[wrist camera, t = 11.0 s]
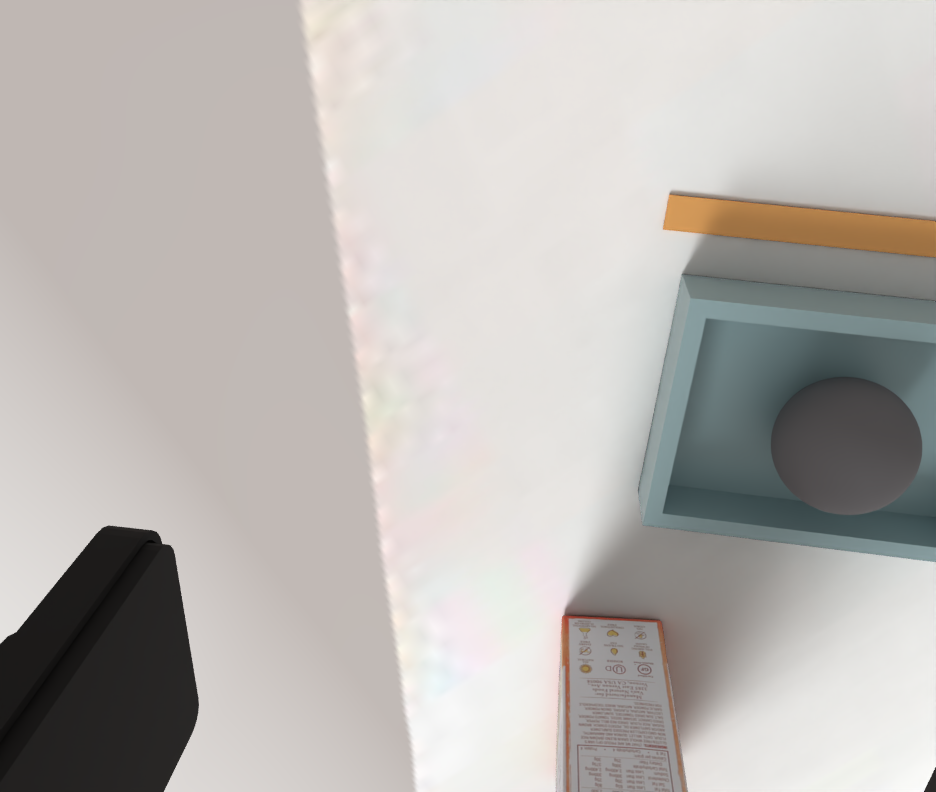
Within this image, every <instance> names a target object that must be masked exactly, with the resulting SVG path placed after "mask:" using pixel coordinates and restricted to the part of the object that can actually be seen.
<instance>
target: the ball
mask: <svg viewBox="0 0 936 792" xmlns="http://www.w3.org/2000/svg"><path fill="white" fill-rule="evenodd" d="M771 454H772V459H773V462H774V466H775V468H776V470H777V472H778V475H779V477H780V478H781V480H782V481H783V483H784V484H785V485H786V487H787V488H788V489H789V490H790V491H791V492H792V493H793V494H794V495H795V496H797V497H798V498H799V499H800V500H802V501H803V502H805V503H806V504H808V505H810V506H812V507H814V508H816V509H819V510H821V511H824V512H828V513H833V514H839V515H858V514H865V513H869V512H872V511H875V510H878V509H880V508H883V507H885V506H887V505H888V504H890V503H892V502H893V501H895V500H896V499H897V498H899V497H900V496H901V495H902V494H903V493H904V492H905V491H906V489H907V488H908V487H909V486H910V485H911V483H912V482H913V480H914V478H915V476H916V474H917V472H918V469H919V466H920V463H921V458H922V437H921V433H920V428H919V426H918V423H917V421H916V419H915V417H914V415H913V413H912V412H911V410H910V409H909V408H908V406H907V405H906V404H905V403H904V402H903V401H902V399H900V398H899V397H898V396H897V395H896V394H895V393H893V392H892V391H890V390H889V389H887V388H885V387H884V386H882V385H880V384H877V383H875V382H872V381H869V380H866V379H861V378H856V377H834V378H828V379H824V380H820V381H817V382H815V383H812V384H810V385H808V386H806V387H804V388H803V389H801V390H800V391H798V392H797V393H796V394H795V395H793V396H792V397H791V398H790V399H789V400H788V401H787V403H786V404H785V405H784V406H783V408H782V409H781V410H780V412H779V414H778V416H777V418H776V421H775V423H774V426H773V430H772V435H771Z"/></svg>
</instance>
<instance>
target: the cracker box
mask: <svg viewBox="0 0 936 792" xmlns="http://www.w3.org/2000/svg"><path fill="white" fill-rule="evenodd" d="M556 792H688V790H687V783H686V776H685V770H684V763H683V757H682V750H681V744H680V737H679V731H678V725H677V718H676V712H675V706H674V699H673V692H672V685H671V679H670V673H669V668H668V663H667V658H666V648H665V641H664V634H663V628H662V623H661V621H660V620H640V619H622V618H604V617H585V616H563V617H562V630H561V651H560V670H559V693H558V719H557V749H556Z"/></svg>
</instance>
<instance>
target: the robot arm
mask: <svg viewBox="0 0 936 792" xmlns="http://www.w3.org/2000/svg"><path fill="white" fill-rule="evenodd" d="M198 708H199V702H198V694H197V687H196V682H195V676H194V669H193V663H192V657H191V651H190V645H189V639H188V633H187V626H186V621H185V614H184V609H183V602H182V596H181V591H180V584H179V578H178V572H177V565H176V559H175V554H174V550H173V548H172V547H171V546H170V545H165V544H162V541H161V538H160V536H159V534H158V533H157V532H155V531H152V530H143V529H134V528H125V527H117V526H106V527H104V528H102V529H101V530H100V531H99V532H98V533H97V534H96V535H95V536H94V538H93V539H92V540H91V541H90V543H89V544H88V545H87V546H86V547H85V549H84V550H83V551H82V552H81V553H80V555H79V556H78V557H77V558H76V560H75V561H74V562H73V563H72V565H71V566H70V567H69V568H68V569H67V571H66V572H65V573H64V574H63V576H62V577H61V578H60V579H59V580H58V582H57V583H56V584H55V585H54V587H53V588H52V589H51V590H50V592H49V593H48V594H47V595H46V596H45V598H44V599H43V600H42V601H41V603H40V604H39V605H38V606H37V608H36V609H35V610H34V611H33V613H32V614H31V615H30V616H29V617H28V619H27V620H26V621H25V622H24V624H23V625H22V626H21V627H20V629H19V630H18V631H17V632H16V633H14V634H12V635H10V636H8V637H7V638H6V639H5V640H4V641H3V642H2V643H1V644H0V792H164V790H165V788H166V786H167V784H168V782H169V780H170V777H171V776H172V773H173V771H174V769H175V767H176V765H177V763H178V761H179V759H180V757H181V755H182V753H183V751H184V749H185V747H186V745H187V743H188V741H189V739H190V737H191V735H192V732H193V730H194V727H195V724H196V720H197V716H198ZM924 792H936V768H935V770H934V772H933V774H932V776H931V778H930V780H929V782H928V784H927V786H926V788H925V790H924Z"/></svg>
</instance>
